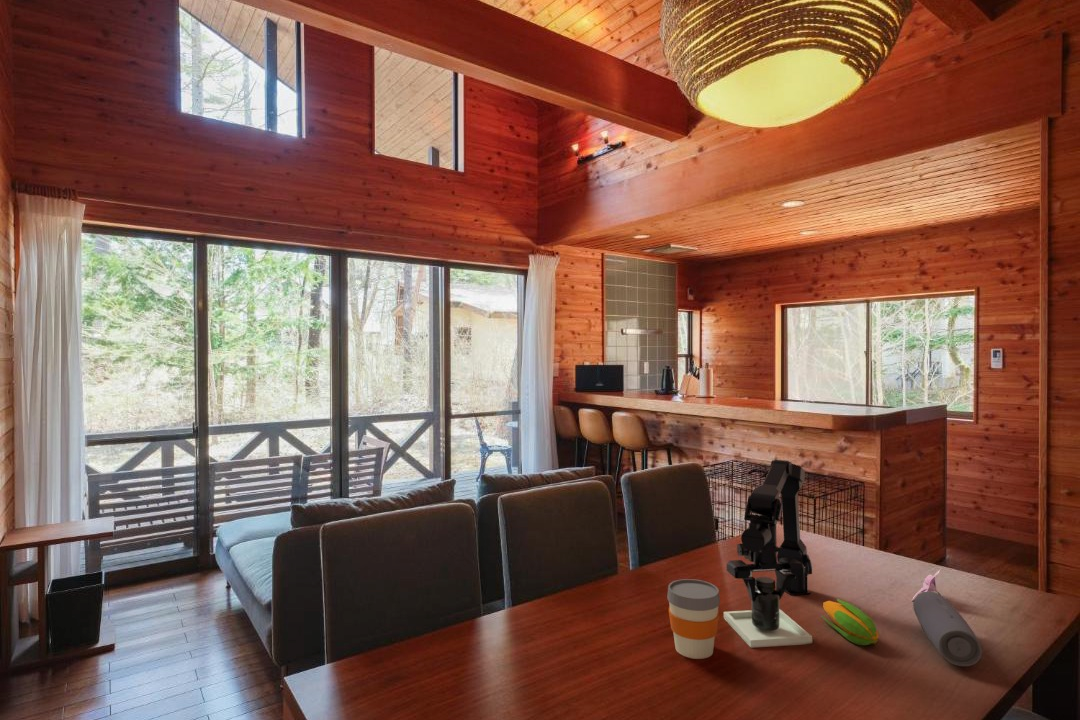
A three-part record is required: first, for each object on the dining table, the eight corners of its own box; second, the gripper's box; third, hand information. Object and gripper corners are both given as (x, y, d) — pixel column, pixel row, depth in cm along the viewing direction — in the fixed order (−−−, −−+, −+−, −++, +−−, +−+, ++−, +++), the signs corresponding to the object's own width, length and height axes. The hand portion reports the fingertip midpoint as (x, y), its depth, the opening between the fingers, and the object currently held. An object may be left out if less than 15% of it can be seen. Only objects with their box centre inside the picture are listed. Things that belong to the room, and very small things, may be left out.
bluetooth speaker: (985, 675, 128) (985, 631, 128) (936, 668, 131) (936, 624, 131) (952, 630, 150) (952, 591, 149) (910, 624, 153) (910, 587, 153)
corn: (859, 621, 138) (811, 588, 158) (858, 653, 138) (809, 616, 158) (888, 621, 139) (836, 588, 159) (886, 653, 139) (834, 616, 159)
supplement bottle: (783, 631, 147) (783, 585, 147) (757, 631, 147) (756, 585, 147) (773, 619, 154) (773, 574, 154) (748, 619, 154) (747, 574, 154)
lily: (933, 594, 174) (914, 564, 176) (971, 593, 164) (950, 561, 166) (912, 615, 168) (892, 584, 170) (949, 615, 158) (928, 582, 160)
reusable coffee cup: (692, 668, 133) (691, 603, 133) (657, 644, 144) (656, 584, 144) (732, 654, 139) (731, 592, 139) (695, 632, 150) (694, 575, 150)
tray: (779, 615, 159) (779, 608, 159) (812, 643, 143) (812, 636, 143) (723, 618, 158) (723, 611, 158) (750, 647, 142) (750, 640, 142)
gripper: (782, 529, 159) (783, 586, 159) (717, 533, 158) (718, 589, 158) (805, 542, 148) (806, 603, 148) (735, 546, 146) (736, 607, 147)
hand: (765, 600), depth 151 cm, fingers closed on supplement bottle, 7 cm apart
